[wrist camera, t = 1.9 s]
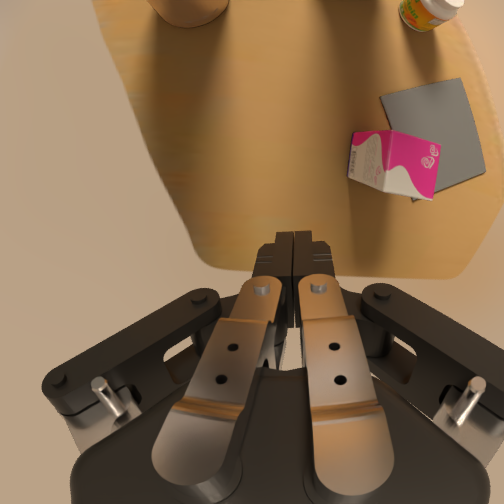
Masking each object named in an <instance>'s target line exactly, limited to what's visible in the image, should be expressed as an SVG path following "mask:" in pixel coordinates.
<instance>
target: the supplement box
mask: <svg viewBox="0 0 504 504" xmlns="http://www.w3.org/2000/svg"><path fill="white" fill-rule="evenodd" d="M440 150H441V145H440V144H437V143H434V142H431V141H428V140H425V139H422V138H418V137H415V136H412V135H409V134H405V133H402V132H398V131H395V130H382V131H365V132H354V133H353V135H352V141H351V148H350V156H349V163H348V171H347V177H349V178H351V179H353V180H356V181H358V182H361V183H363V184H366V185H368V186H370V187H373V188H375V189H377V190H380V191H382V192H385V193H390V194H396V195H401V196H407V197H413V198H418V199H424V200H429V201H432V200H433V195H434V190H435V184H436V178H437V171H438V165H439V158H440Z"/></svg>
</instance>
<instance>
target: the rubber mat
mask: <svg viewBox="0 0 504 504" xmlns="http://www.w3.org/2000/svg"><path fill="white" fill-rule="evenodd" d="M380 99H381V101H382V104H383V107H384V109H385V112H386V115H387V117H388V120H389V123H390V126H391V129H392V130H395V131H398V132H402V133H405V134H409V135H412V136H415V137H418V138H422V139H425V140H428V141H431V142H434V143H437V144H440V145H441V150H440V158H439V165H438V171H437V178H436V184H435V190H434V192H436V191H439V190H441V189H444V188H446V187H449V186H451V185H454V184H456V183H459V182H461V181H464V180H466V179H469V178H471V177H474V176H476V175H479V174H481V173H484V172H486V168H485V163H484V158H483V154H482V149H481V145H480V141H479V136H478V133H477V129H476V125H475V121H474V118H473V114H472V111H471V108H470V104H469V101H468V98H467V95H466V92H465V89H464V86H463V83H462V81H461V78H456V79H451V80H446V81H442V82H437V83H432V84H428V85H424V86H419V87H415V88H411V89H407V90H403V91H399V92H395V93H392V94H388V95H384V96H381V97H380ZM416 199H418V198H413V197H412V200H413V201H414V200H416Z"/></svg>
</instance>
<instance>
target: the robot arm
mask: <svg viewBox="0 0 504 504" xmlns="http://www.w3.org/2000/svg"><path fill="white" fill-rule="evenodd" d="M147 1H148V2H149V4H150V5H151V6H152V7H153V8H154V9H155V10H156V11H157V12H158V14H159V15H160V16H161V17H162V18H163V19H164V20H165V21H166V22H168V23H169V24H171V25H174V26H177V27H183V28H191V27H197V26H201V25H204V24H206V23H208V22H210V21H212V20H214V19H215V18H216V17H218V16H219V15H220V14H221V13H222V12H223V11H224V10H225V8H226V6H227V5H228V2H229V0H147ZM294 314H295V323H296V328H300V345H301V358H302V368H298V369H293V370H288V371H282V370H281V369H282V363H283V358H284V353H285V348H286V336H287V329H288V328H294ZM189 336H191V339H192V342H193V344H192V345H190V346H189V347H187V348H186V349H184V350H183V351H181V352H180V353H178V354H177V355H175V356H173V357H172V358H170V359H169V360H167V361H165V362H164V361H163V357H164V354H165V353H166V351H167V350H168V349H170V348H171V347H173V346H174V345H176V344H178V343H179V342H181V341H182V340H184V339H186V338H187V337H189ZM395 336H396V337H397V338H399V339H400V340H402V341H403V342H405V343H406V344H408V345H409V346H411V347H412V348H413V349H414V351H415V352H416V355H417V356H415V355H414V354H412V353H411V352H409V351H408V350H407V349H405V348H404V347H402V346H401V345H399V344H398V343H396V342H395V341H394V337H395ZM370 372H371V373H373V374H374V375H375V376H376V377H378V378H379V379H380V380H379V379H377V378H375V377H373V376H371V374H370ZM42 392H43V393H44V395H45V396H46V397H47V399H48V400H49V401H50V402H51V403H52V405H53V406H54V407H55V408H56V410H57V412H58V413H59V414H60V415H61V416H62V418H63V419H64V420H65V421H66V423H67V425H68V428H69V430H70V432H71V434H72V436H73V439H74V441H75V443H76V445H77V447H78V449H79V451H80V453H81V455H80V456H79V458H78V459H77V461H76V463H75V464H74V466H73V469H72V472H71V476H70V491H71V504H488V503H489V498H490V481H489V477H488V473H487V471H486V469H485V468H486V467H487V465H488V463H489V462H490V461H491V459H492V458H493V456H494V455H495V453H496V452H497V450H498V449H499V447H500V445H501V444H502V442H503V440H504V350H503V349H501V348H499V347H498V346H496V345H494V344H493V343H491V342H490V341H488V340H486V339H485V338H483V337H481V336H480V335H478V334H476V333H475V332H473V331H471V330H470V329H468V328H466V327H465V326H463V325H461V324H459V323H458V322H456V321H454V320H453V319H451V318H449V317H447V316H446V315H444V314H442V313H441V312H439V311H437V310H435V309H434V308H432V307H430V306H428V305H427V304H425V303H423V302H421V301H420V300H418V299H416V298H414V297H412V296H411V295H409V294H407V293H405V292H403V291H402V290H400V289H398V288H396V287H394V286H392V285H390V284H385V283H376V284H371V285H369V286H367V287H365V288H364V290H363V291H362V294H360V293H354V292H350V291H347V290H345V289H343V288H341V287H340V286H339V283H338V281H337V280H336V279H335V273H334V267H333V261H332V255H331V250H330V246H329V245H328V244H327V243H326V242H324V241H316V242H312V233H311V231H295V237H294V233H293V231H291V232H276V238H275V243H270V244H264V245H263V246H262V247H261V248H260V249H259V250H258V254H257V258H256V263H255V266H254V270H253V274H252V278H251V279H249V280H247V281H246V282H245V283H244V284H243V285H242V288H241V290H240V292H239V294H237V295H233V296H230V297H225V298H220V297H219V294H218V293H217V291H215V290H213V289H209V288H200V289H196V290H192V291H190V292H188V293H186V294H185V295H183V296H181V297H179V298H178V299H176V300H174V301H172V302H171V303H169V304H167V305H165V306H163V307H162V308H160V309H158V310H156V311H155V312H153V313H151V314H149V315H148V316H146V317H144V318H142V319H141V320H139V321H137V322H135V323H134V324H132V325H130V326H128V327H127V328H125V329H123V330H121V331H119V332H118V333H116V334H114V335H112V336H111V337H109V338H107V339H106V340H104V341H102V342H100V343H98V344H97V345H95V346H93V347H91V348H89V349H88V350H86V351H84V352H83V353H81V354H79V355H77V356H76V357H74V358H72V359H70V360H68V361H67V362H65V363H63V364H61V365H59V366H58V367H56V368H54V369H53V370H51V371H50V372H49V373H48V374H47V375H46V376H45V378H44V380H43V382H42ZM404 398H405V399H404ZM409 402H410V403H411V404H410V403H409ZM413 405H414V406H415V407H416V408H418V409H419V410H420V411H422V412H423V413H424V414H425V415H427V416H428V417H429V418H431V419H432V420H433V422H432V421H431V420H430V419H428V418H427V417H426V416H425V415H424V414H422V413H421V412H420V411H419V410H418V409H416V408H415V407H414V406H413Z"/></svg>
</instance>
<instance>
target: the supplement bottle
mask: <svg viewBox="0 0 504 504" xmlns="http://www.w3.org/2000/svg"><path fill="white" fill-rule="evenodd" d="M463 4H464V0H403V1H402V2H401V3H400V6H399V13H400V15H401V17H402V19H403V21H404V22H405V23H406V24H407V25H408V26H409V27H411V28H412V29H414V30H416V31H419V32H427V31H429V30H431V29H433V28H435V27H437V26H439V25H441V24H442V23H444V22H446V21H448V20H450V19H452V18H453V17H455V15H456V14H457V9H459V8H460V7H462V6H463Z"/></svg>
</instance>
